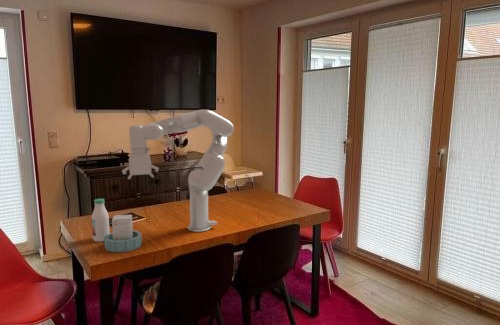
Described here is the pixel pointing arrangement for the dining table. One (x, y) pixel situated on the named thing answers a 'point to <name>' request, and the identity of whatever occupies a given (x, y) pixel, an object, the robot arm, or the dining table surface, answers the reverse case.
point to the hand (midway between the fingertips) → (141, 185)
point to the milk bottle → (100, 221)
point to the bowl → (123, 243)
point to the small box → (122, 227)
